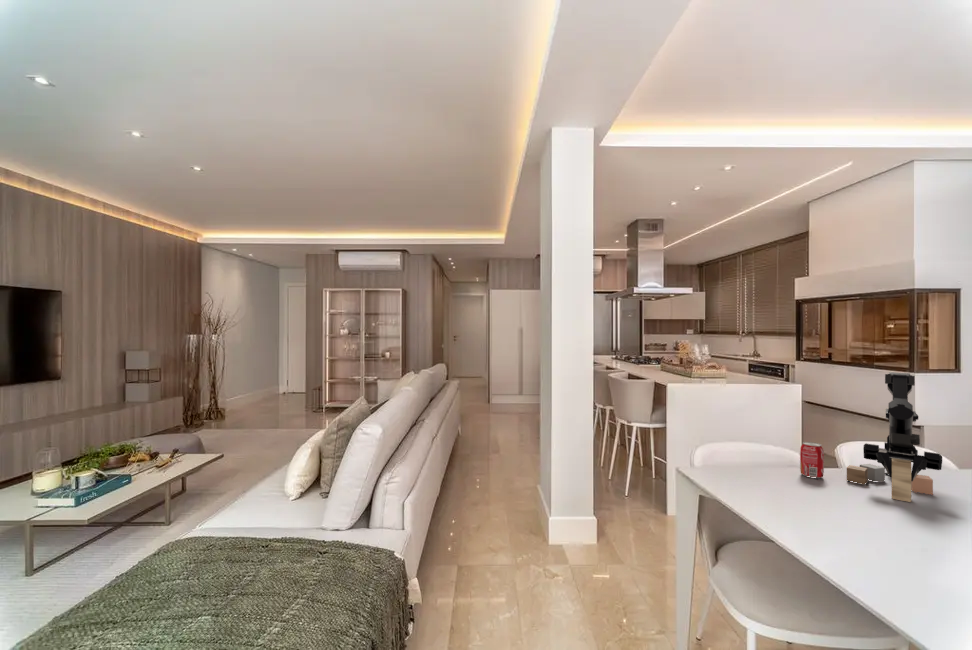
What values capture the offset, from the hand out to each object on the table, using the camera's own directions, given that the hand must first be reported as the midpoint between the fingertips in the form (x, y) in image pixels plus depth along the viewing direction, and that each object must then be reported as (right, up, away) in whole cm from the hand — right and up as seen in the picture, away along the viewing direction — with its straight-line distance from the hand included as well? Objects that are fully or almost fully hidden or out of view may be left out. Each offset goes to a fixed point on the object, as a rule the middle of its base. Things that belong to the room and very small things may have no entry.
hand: (901, 478), depth 142 cm
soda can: (-12, -7, +22) cm, 26 cm away
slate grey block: (+8, -7, +20) cm, 23 cm away
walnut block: (0, -7, +17) cm, 19 cm away
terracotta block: (+15, -7, +9) cm, 19 cm away
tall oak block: (+1, -7, +1) cm, 7 cm away
